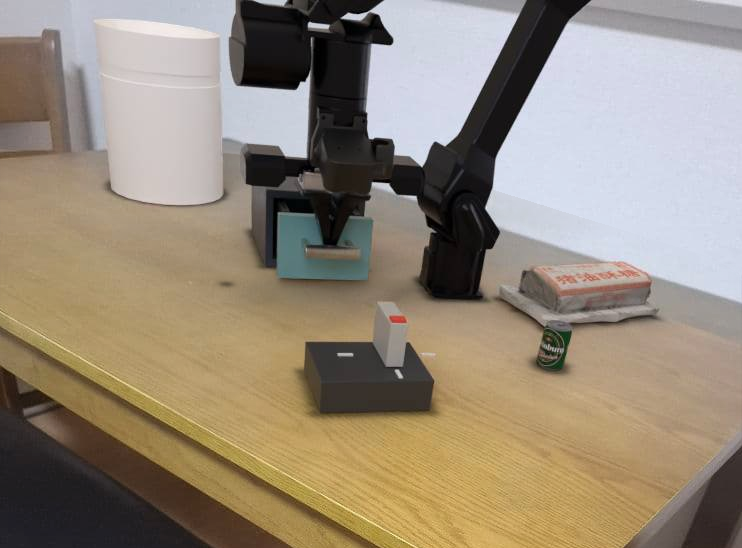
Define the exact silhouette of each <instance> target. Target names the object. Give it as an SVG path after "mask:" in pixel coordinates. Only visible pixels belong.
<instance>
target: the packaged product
mask: <svg viewBox="0 0 742 548" xmlns="http://www.w3.org/2000/svg"><path fill="white" fill-rule="evenodd" d="M652 283H653V279H652V278H651V276H650V275H649V273H648V272H647V271H643V269H640V268H638V267H636V266H634V265H632V264H631V263H628V262H626V261H616V260H615V261H606V262H605V261H600V262H599V261H598V262H596V261H595V262H582V263H566V264H547V265H533V266H529V267H525V268H524V269H523V270H522V271H521V275H520V283H511V284H499V294H498V295H499V298H501V299H502V300H503V301H505V302H507V303H508V304H510V305H512V306H513V307H515V308H517V309H519V310H520V311H522V312H524V313H525V314H526V315H529V316H530V317H532V318H533V319H535V320H536V322H538V323H539V324H540V325H542V327H544V328H545V326H546V325H547V324H546V323H547V322H548V321H550V320H559V321H563V322H566V323H568V324H582V323H584V324H585V323H595V322H596V323H597V322H610V323H616V322H620V321H622V320H624V319H629V318H637V317H644V316H645V317H646V316H656V315H657V314H658V313H659V312H660V307H658V306H657V305H654V304H652V303H650V302H649V301H647V299H650V296H651V294H652V289H651V287H652Z"/></svg>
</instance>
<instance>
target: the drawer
mask: <svg viewBox="0 0 742 548" xmlns="http://www.w3.org/2000/svg"><path fill="white" fill-rule="evenodd" d="M331 202H332V201H330V206H329V212H330V210H331ZM373 229H374V219H373V218H372V217H371V216H364V217H362V216H361V215H360V213H359V212H358V211H357V209H356V208H354V210H353V212H352V213H351V215H350V217H349V218H348V220H347V222H346V225H345V227H344V229H343V232H342V234H341V236H340V239H339V241H338V244H337V245H322V242H321V238H320V234H319V230H318V227H317V223H316V219H315V215H314V212H313V209H312V206H311V204H310V201H309V200H301V199H284V198H274V208H273V248H274V250H275V252H276V255H277V267H276V276H277V278H278V279H298V280H299V279H300V280H334V281H368V280H369V270H370V261H371V250H372V238H373Z"/></svg>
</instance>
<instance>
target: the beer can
mask: <svg viewBox="0 0 742 548" xmlns="http://www.w3.org/2000/svg"><path fill="white" fill-rule="evenodd" d="M546 324H547V325H546V326H545V327H544V329H543V333H542V335H541V340H540V345H539V348H538V352H537V357H536V363H537V364H538V366H539V367H541V368H542V369H544V370H547V371H558V370H561V369H562V368H563V367H564V365H565V362H566V358H567V353H568V350H569V347H570V343H571V339H572V335H573V334H572V333H573V326H572V325H571V323H569V324H568V323H566V322H563V321H559V320H550V321H548V322H547V323H546Z"/></svg>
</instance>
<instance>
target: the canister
mask: <svg viewBox="0 0 742 548" xmlns="http://www.w3.org/2000/svg"><path fill="white" fill-rule="evenodd" d="M93 26H94V27H93V28H94V35H95V36H94V37H95V47H96V57H97V61H98V68H99V69H98V75H99V84H100V94H101V104H102V112H103V113H102V114H103V121H104V132H105V140H106V141H105V142H106V150H107V160H108V169H109V181H110V189H111V190H112V191H113V192H114V193H115V194H117V195H119V196H122V197H124V198H126V199H129V200H132V201H133V200H134V201H138V202H143V203H149V204H155V205H164V206H166V205H167V206H170V205H171V206H191V205H192V206H195V205H196V206H197V205H203V204H210V203H213V202H215V201H218V200H221V199H222V197H223V196H224V160H223V158H224V156H223V117H222V116H223V115H222V114H223V112H222V111H223V110H222V109H223V108H222V83H221V72H222V69H221V68H222V66H221V63H222V61H221V36H220V35H219V34H218V33H216V32H213V31H210V30H206V29H202V28H198V27H192V26H187V25H183V24H182V25H181V24H175V23H166V22H161V21H151V20H142V19H130V18H129V19H128V18H97V19H93Z"/></svg>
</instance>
